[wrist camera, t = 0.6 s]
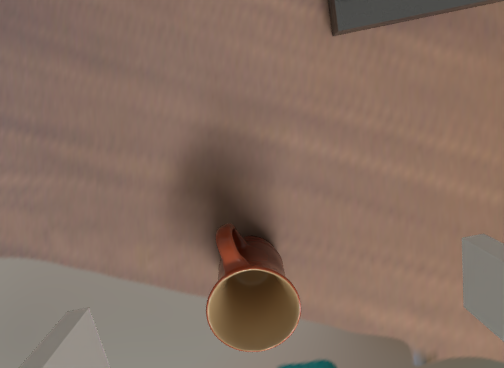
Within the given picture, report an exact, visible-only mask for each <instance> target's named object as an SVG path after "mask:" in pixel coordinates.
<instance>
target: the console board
mask: <svg viewBox="0 0 504 368" xmlns="http://www.w3.org/2000/svg"><path fill="white" fill-rule="evenodd" d="M501 1H504V0H328V4H329V11H330V19H331V27H332V34H333V36H336V35H341V34H346V33H351V32H356V31H361V30H365V29H370V28H375V27H380V26H385V25H390V24H394V23H399V22H404V21H409V20H414V19H419V18H423V17H428V16H433V15H438V14H443V13H448V12H452V11H457V10H462V9H467V8H472V7H477V6H481V5H486V4H491V3H496V2H501Z"/></svg>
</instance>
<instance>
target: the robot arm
mask: <svg viewBox="0 0 504 368" xmlns="http://www.w3.org/2000/svg"><path fill="white" fill-rule="evenodd" d="M462 261H463V300H464V308H466V309H467V310H468V311H469V312H470V313H471V314H472V315H474V316H475V317H476V318H477V319H478V320H479V321H480V322H482V323H483V324H484V325H485V326H486V327H487V328H489V329H490V330H491V331H492V332H493V333H494V334H495V335H497V336H498V337H499V338H500V339H501V340H502V341H503V342H504V244H503V243H501V242H499V241H497V240H495V239H493V238H491V237H489V236H487V235H485V234H480V235H474V236H469V237H463V238H462ZM19 368H110V365H109V362H108V360H107V357H106V354H105V351H104V348H103V345H102V342H101V339H100V337H99V334H98V331H97V328H96V325H95V323H94V320H93V317H92V314H91V311H90V308H89V307H88V308H83V309H78V310H72V311H68V312H67V313H66V314H65V315H64V316H63V317H62V318H61V320H60V321H59V322H58V323H57V324H56V325H55V326H54V328H53V329H52V330H51V331H50V332H49V333H48V334H47V336H46V337H45V338H44V339H43V340H42V342H41V343H40V344H39V345H38V346H37V347H36V348H35V349H34V351H33V352H32V353H31V354H30V355H29V357H28V358H27V359H26V360H25V361H24V362H23V363H22V364H21V366H20V367H19Z"/></svg>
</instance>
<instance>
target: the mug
mask: <svg viewBox="0 0 504 368" xmlns="http://www.w3.org/2000/svg"><path fill="white" fill-rule="evenodd" d="M216 243H217V247H218V250H219V252H220V255H221V257H222V258H221V260H220V264H219V274H218V282H217V283H216V284H215V286H214V287H213V289H212V290H211V292H210V294H209V297H208V300H207V305H206V316H207V321H208V324H209V326H210V328H211V330H212V332H213V333H214V335H215V336H216V337H217V338H218V339H219V340H220V341H221V342H223V343H224V344H226V345H228V346H229V347H232V348H234V349H236V350H240V351H245V352H259V351H265V350H268V349H271V348H274V347H276V346H278V345H280V344H281V343H283V342H284V341H285V340H286V339H287V338H289V337H290V335H291V334H292V333H293V332H294V330H295V328H296V327H297V325H298V322H299V319H300V315H301V302H300V298H299V295H298V293H297V290H296V289H295V287H294V286H293V284H292V283H291V282H290V281H289V280H288V279H287V278H286V277H285V272H284V268H283V262H282V259H281V257H280V255H279V253H278V252H277V251H276V249H275V248H274V247H273V245H272V244H271V243H269V242H268V241H267V240H265V239H263V238H260V237H256V236H245V237H243V236H242V235H241V234H240V233H239V232H238V231H237V229H236V228H235V226H234V225H233V224H231V223H228V224H225V225H222V226H220V227H219V228H218V230H217V232H216Z"/></svg>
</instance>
